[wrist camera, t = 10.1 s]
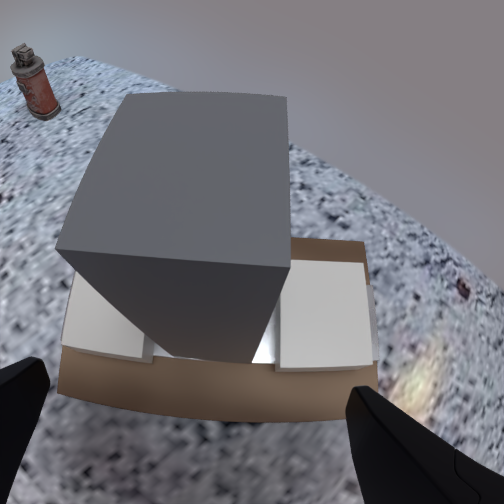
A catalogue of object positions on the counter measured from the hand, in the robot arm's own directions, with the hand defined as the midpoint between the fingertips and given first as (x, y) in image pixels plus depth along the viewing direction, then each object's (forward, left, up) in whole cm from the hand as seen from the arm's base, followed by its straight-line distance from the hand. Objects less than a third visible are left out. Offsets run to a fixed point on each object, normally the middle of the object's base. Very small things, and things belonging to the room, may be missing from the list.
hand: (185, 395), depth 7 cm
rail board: (+2, +4, -10) cm, 12 cm away
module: (+2, +4, -9) cm, 10 cm away
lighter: (-7, +37, -11) cm, 40 cm away
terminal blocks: (+2, +4, -9) cm, 10 cm away
